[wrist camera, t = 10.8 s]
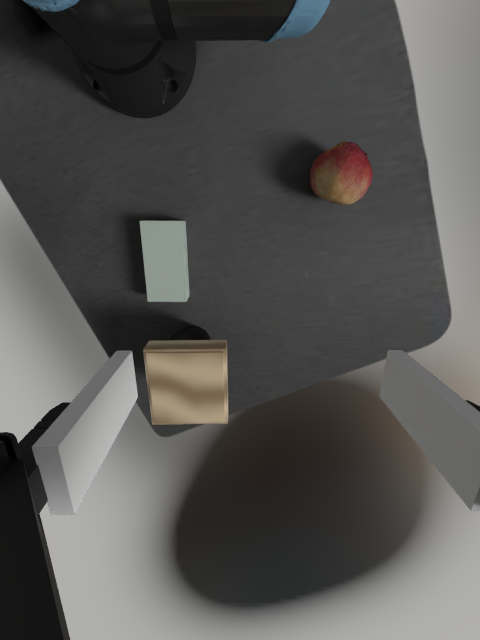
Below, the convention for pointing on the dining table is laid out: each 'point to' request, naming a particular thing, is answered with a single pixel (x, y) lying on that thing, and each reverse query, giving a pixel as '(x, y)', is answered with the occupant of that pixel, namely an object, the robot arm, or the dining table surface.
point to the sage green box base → (165, 260)
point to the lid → (187, 381)
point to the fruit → (341, 174)
